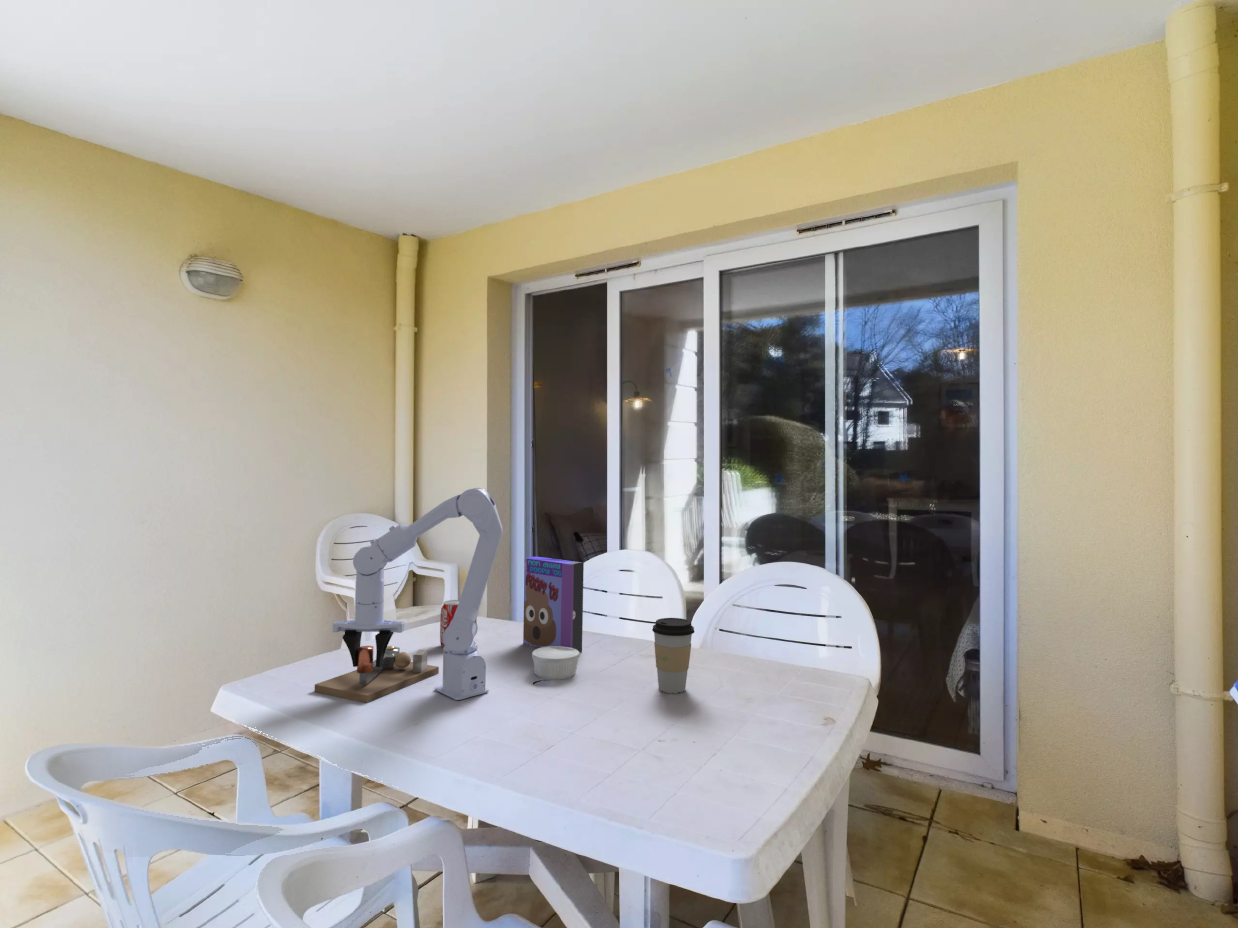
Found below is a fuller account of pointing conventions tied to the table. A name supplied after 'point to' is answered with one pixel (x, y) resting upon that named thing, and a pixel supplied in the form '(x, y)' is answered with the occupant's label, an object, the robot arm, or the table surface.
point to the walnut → (402, 660)
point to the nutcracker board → (379, 680)
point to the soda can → (447, 616)
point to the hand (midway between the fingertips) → (367, 665)
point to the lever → (373, 662)
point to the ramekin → (555, 662)
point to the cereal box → (553, 603)
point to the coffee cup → (672, 652)
